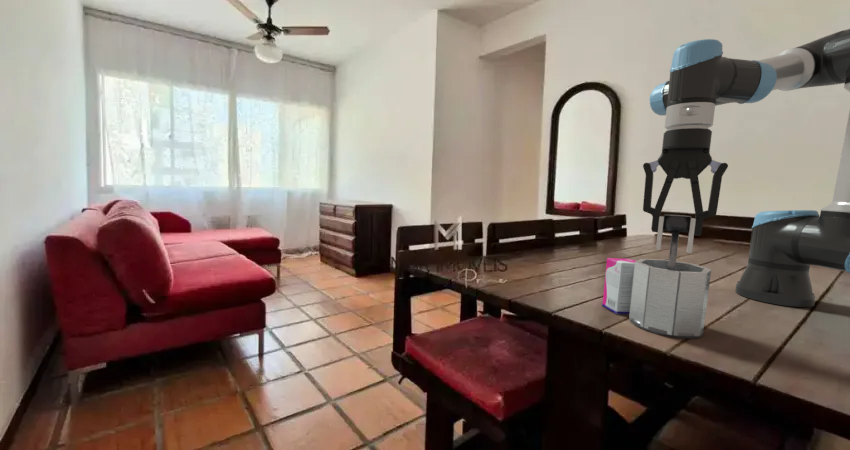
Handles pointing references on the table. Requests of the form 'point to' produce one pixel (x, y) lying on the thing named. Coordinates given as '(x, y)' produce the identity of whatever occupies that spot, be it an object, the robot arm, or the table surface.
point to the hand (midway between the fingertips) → (673, 250)
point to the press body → (669, 298)
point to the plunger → (675, 234)
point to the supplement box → (618, 285)
